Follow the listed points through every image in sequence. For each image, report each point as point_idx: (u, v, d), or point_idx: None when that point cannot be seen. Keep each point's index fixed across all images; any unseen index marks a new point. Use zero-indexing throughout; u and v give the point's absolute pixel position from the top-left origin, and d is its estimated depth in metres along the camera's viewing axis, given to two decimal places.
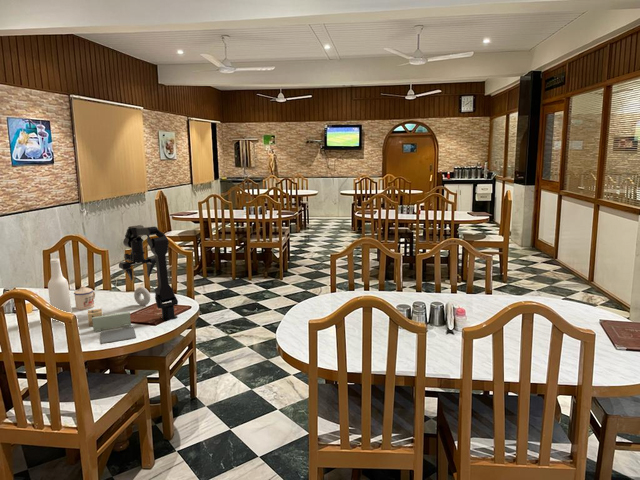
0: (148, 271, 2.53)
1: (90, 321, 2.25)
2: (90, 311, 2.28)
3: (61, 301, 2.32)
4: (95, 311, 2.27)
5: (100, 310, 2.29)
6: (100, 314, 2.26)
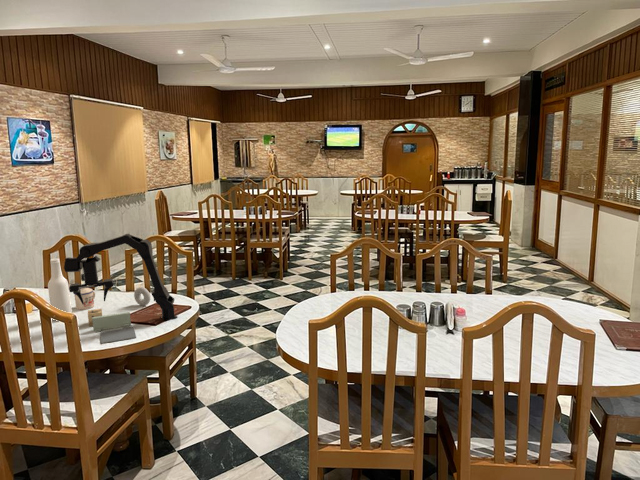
0: None
1: (90, 321, 2.25)
2: (90, 311, 2.28)
3: (61, 300, 2.32)
4: (95, 311, 2.27)
5: (100, 310, 2.29)
6: (100, 314, 2.26)
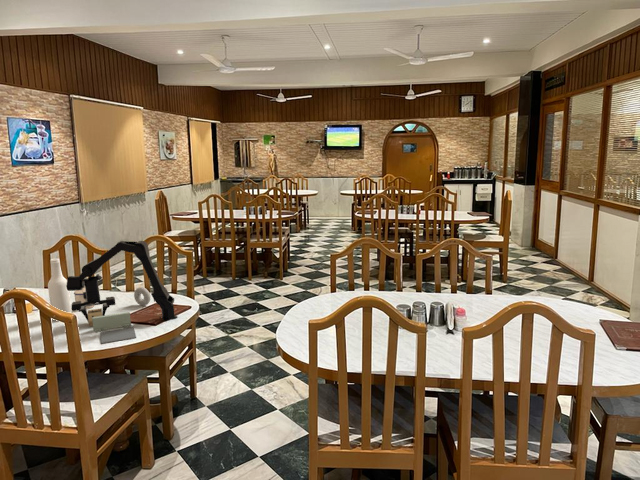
0: (102, 313, 2.29)
1: (90, 321, 2.25)
2: (90, 311, 2.28)
3: (61, 300, 2.32)
4: (95, 311, 2.27)
5: (100, 310, 2.29)
6: (100, 314, 2.26)
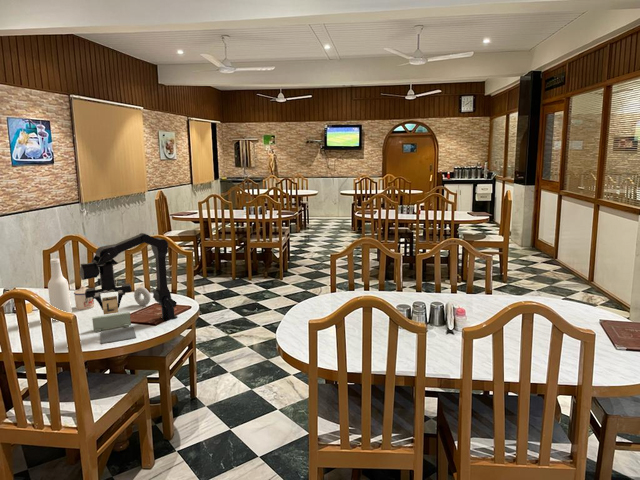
0: None
1: (105, 309, 2.10)
2: (105, 298, 2.13)
3: (61, 300, 2.32)
4: (110, 298, 2.13)
5: (115, 297, 2.14)
6: (115, 302, 2.11)
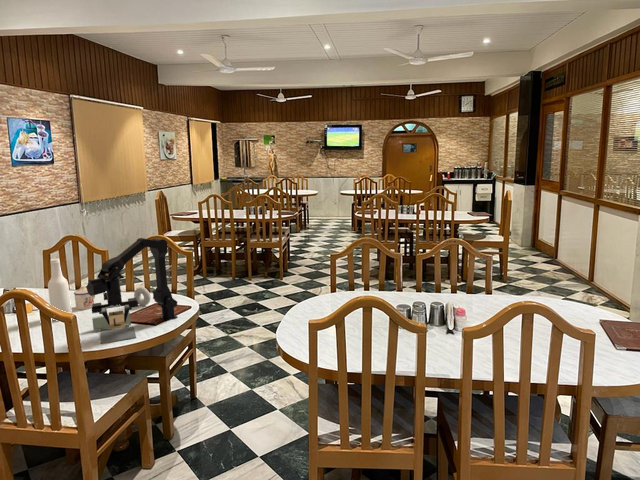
0: (124, 316, 2.12)
1: (111, 324, 2.08)
2: (111, 313, 2.11)
3: (61, 300, 2.32)
4: (116, 313, 2.11)
5: (122, 312, 2.12)
6: (122, 316, 2.09)
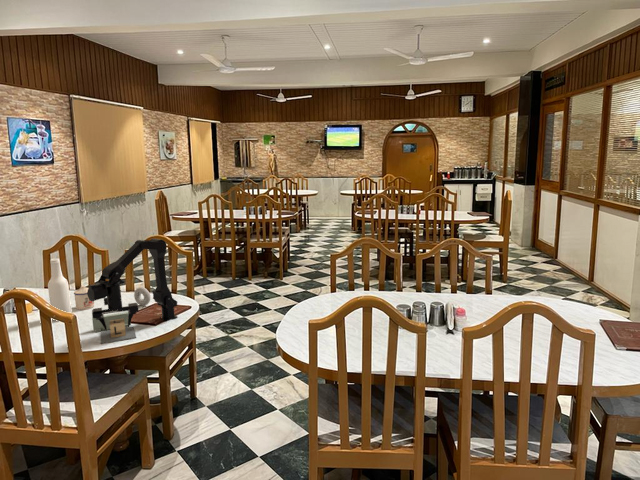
0: (128, 320, 2.13)
1: (112, 332, 2.09)
2: (112, 321, 2.12)
3: (61, 300, 2.32)
4: (117, 321, 2.11)
5: (122, 320, 2.13)
6: (123, 325, 2.10)
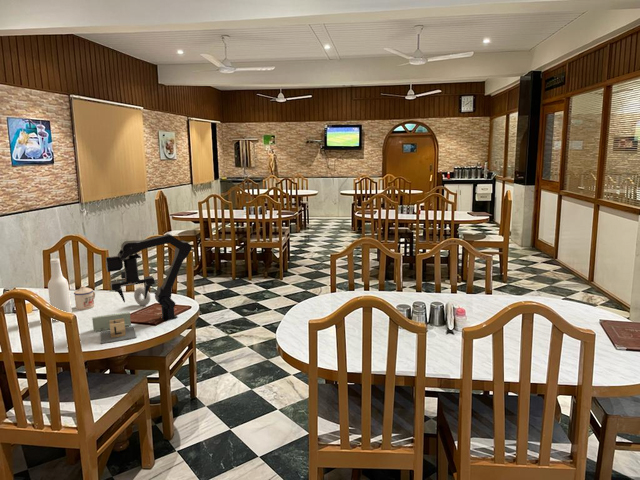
0: (144, 292, 2.25)
1: (112, 332, 2.09)
2: (112, 321, 2.12)
3: (61, 300, 2.32)
4: (117, 321, 2.11)
5: (122, 320, 2.13)
6: (123, 325, 2.10)
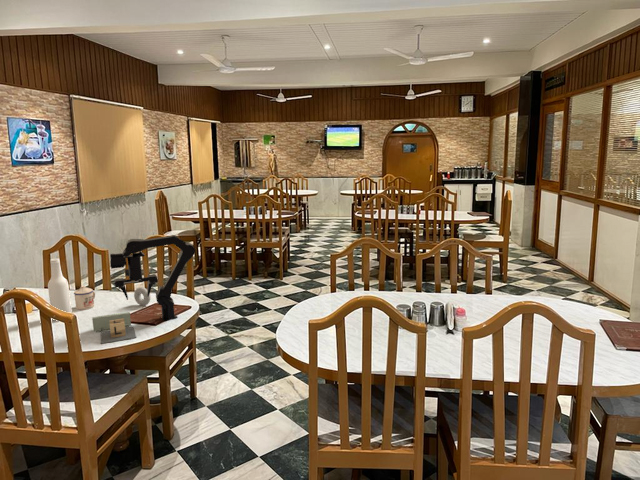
0: (147, 290, 2.28)
1: (112, 332, 2.09)
2: (112, 321, 2.12)
3: (61, 300, 2.32)
4: (117, 321, 2.11)
5: (122, 320, 2.13)
6: (123, 325, 2.10)
